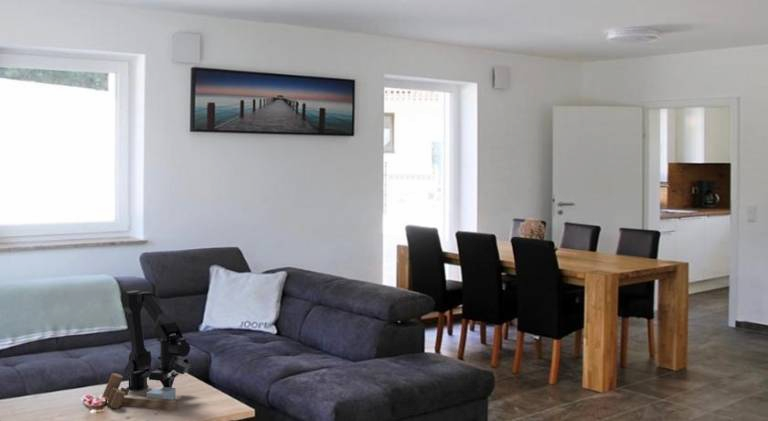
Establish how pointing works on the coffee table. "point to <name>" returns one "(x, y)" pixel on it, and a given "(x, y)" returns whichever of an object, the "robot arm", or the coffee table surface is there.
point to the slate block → (162, 393)
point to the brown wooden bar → (149, 402)
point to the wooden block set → (115, 391)
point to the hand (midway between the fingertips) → (168, 392)
